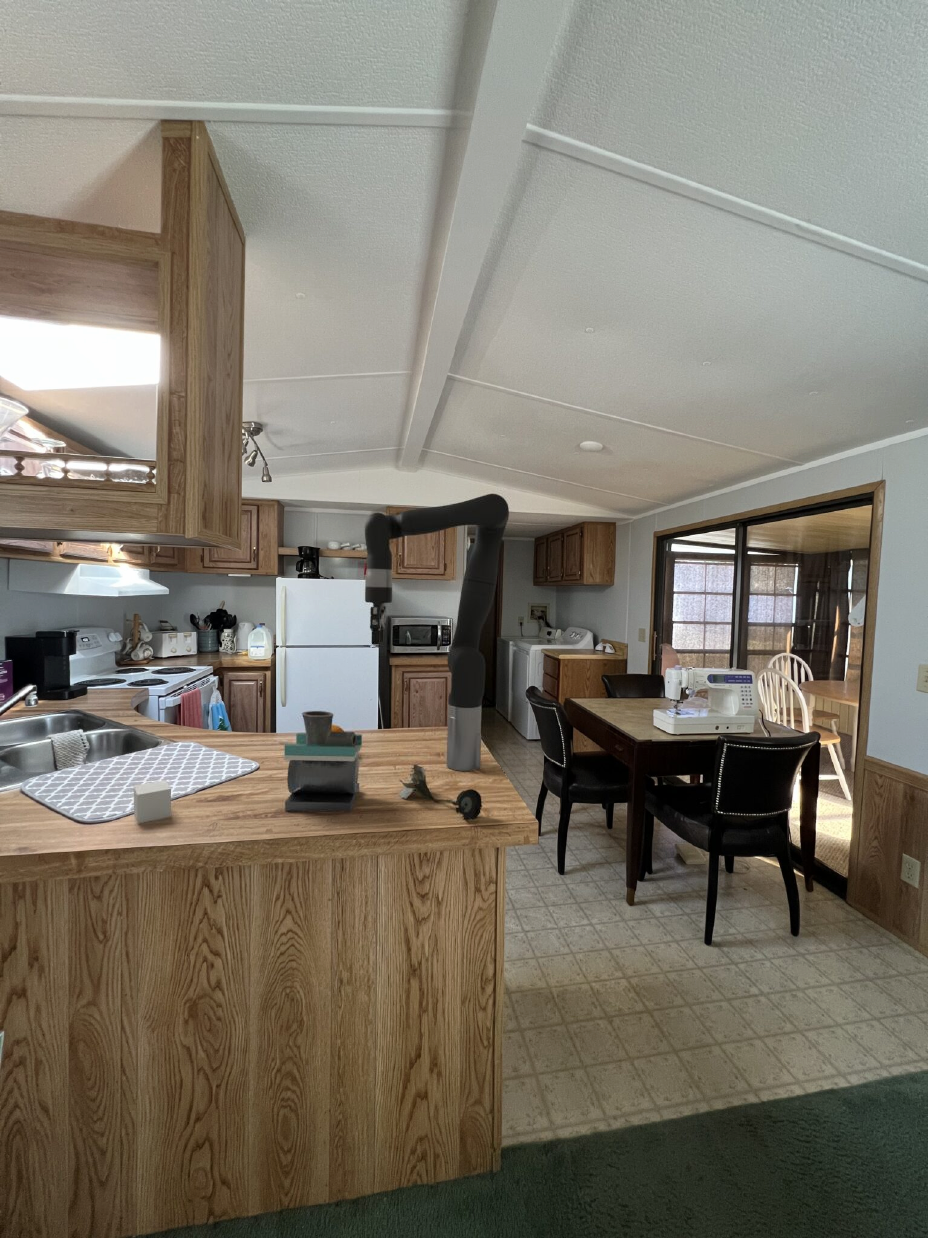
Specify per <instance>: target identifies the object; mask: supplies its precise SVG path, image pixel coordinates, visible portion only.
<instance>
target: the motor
mask: <svg viewBox="0 0 928 1238" xmlns="http://www.w3.org/2000/svg"><path fill="white" fill-rule="evenodd" d="M355 734H356V738H357V743H356V746H352V745H306V732H305V733H304V732H297V733H296V736H295V737H296V738H295V739H296V741H295V743H291V744H290V743H289V744H288V743H285V745H284V753H283V754H284V755H283V760H284V761H289V763H288V769H287V779H286V780H287V790H288V792H289V793H290V794H289V796H288V797H287V799H286V800H285V801H284V811H285V812H325V813H326V812H329V813H330V812H331V813H332V812H333V813H351V812H352V809H353V807H354V804H355V803H356V799H357V797H358V795H359V793H360V782H358V781H359V769H360V765H359V764H360V763H359V762H360V761H359V760H360V759H359V758H360V757H359V753H360V751H361V749H362V747H363V734H360V733H359V734H357V733H355Z"/></svg>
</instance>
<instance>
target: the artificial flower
mask: <svg viewBox="0 0 928 1238" xmlns="http://www.w3.org/2000/svg"><path fill="white" fill-rule="evenodd" d="M411 771H412V773H410V774H409V777H410V780H409V781H408V782H403V781H402V780H401V778H400V779H399V782H400V783H401V784H402V785H403V786H404V788H403V789H401V790H400V792H399V793H398V794H397V796H398V797H400V799H402V798H403V799H404V800H406V799H407V798H408V797H409V796H410V795H411V794H412V793H413V792H417V793H419V794H420V795H421V796H422V797H423V798H427V799H429V800H432V801H435V802H445V803H451V804H452V805H453V806H454V807H455V812H456V814H460V815H462V816H461V819H463V821H466V822H467V823H468V822H469V821H470V820H472V821H473V820H475V819H476V818H477V817H479V815H480V814H481V813H482V812H481V810H482V807H483V804H482V796H481V794H480V792H478V791H477V790H475V789H474V788H473V789H471V788H469V789H467V790H462V791H461V792H460V793H459V794H457V796H456V801H453V800H451V799H444V798H443V799H442V798H440V799H436V798H434V797H433V795H432V793H431V791H430V788H429V787H428V785H427V778H426V777H427V776H426V773H425V771H426V769H425V768H424V766H420V765H418V764H412V767H411Z"/></svg>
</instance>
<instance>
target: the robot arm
mask: <svg viewBox="0 0 928 1238" xmlns="http://www.w3.org/2000/svg"><path fill="white" fill-rule="evenodd" d="M509 509H510V508H509V505H508V501H507V500H506V499H505V498H504V497H503V496H501V495H500V494H497V493H488V494H484V495H481V496H478V497H474V498H471V499H468V500H465V501H461V502H456V503H450V504H446V505H439V506H432V507H423V508H417V509H416V508H415V509H408V510H404V511H401V513H397V514H396V513H395V514H388V515H386V514H384V513H382V512H373V513H371V514H369V515H368V517H367V518H366V519H365V522H364V540H365V547H366V554H367V555H366V572H365V581H364V584H365V585H364V601H365V603H372V606H371V607H370V611H369V613H370V614H369V615H370V620H369V621H370V622H369V628H370V631H371V645H373V646H378V645H380V644H381V643H383V642H384V636H385V635H384V634H385V633H384V632H385V628H386V621H387V620H386V619H387V617H386V615H387V609H386V605H385V604H391V603H392V602H393V571H392V570H393V553H392V551H391V549H390V540H396V539H400V538H404V537H409V536H410V537H411V536H420V535H427V534H428V535H429V534H433V533H437V532H441V531H444V530H447V529H451V528H456V527H462V526H475V527H476V528H475V535H474V537H475V538H474V544H473V549H472V551H471V553H470V554H471V555H470V557H469V560H468V561H467V565H466V568H465V572H464V574H463V575H464V576H463V581H462V585H461V589H460V597H459V604H458V609H457V610H458V611H457V621H456V626H455V631H454V635H453V639H452V642H451V646H450V649H449V651H448V652H449V653H448V656H447V668H448V671H449V672H450V674H451V688H450V692H449V694H448V697H447V698H448V700H447V705H448V707H447V731H446V732H447V735H446V736H447V737H446V766H447V768H449V769H450V770H455V771H460V772H461V771H462V772H464V771H466V772H467V771H474V769H475V770H481V761H482V760H481V757H482V756H481V755H482V753H481V752H482V733H481V731H482V724H481V723H482V704H483V703H482V702H483V698H484V694H485V684H486V661H485V656H484V655H483V654H482V653H481V652H480V650H479V645H480V640H481V633H482V629H483V626H484V624H485V622H486V619H487V618H488V615H489V613H490V611H491V608H492V606H493V602H494V600H495V599H494V598H495V593H496V589H497V587H496V586H497V581H498V572H499V561H500V560H499V558H500V557H499V556H500V549H501V544H502V540H503V537H504V533H505V530H506V526H507V524H508V522H509V521H508V520H509V517H510V511H509Z"/></svg>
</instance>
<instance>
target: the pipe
mask: <svg viewBox="0 0 928 1238" xmlns="http://www.w3.org/2000/svg"><path fill="white" fill-rule="evenodd" d="M301 716H302V719H303V723H304V724H303V725H304V729H305V733H306V745H352V746H356V743H357V738H356V734H357V733H355V732H354V731H345V732H333V731H332V725H333V719H334V713H333V712H331V711H324V710H323V711H322V710H311V711H310V710H309V711H308V710H307V711H303V712H302V713H301Z"/></svg>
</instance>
